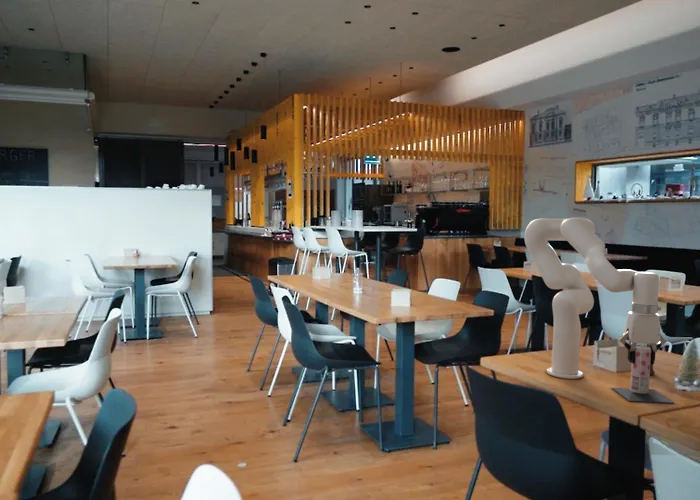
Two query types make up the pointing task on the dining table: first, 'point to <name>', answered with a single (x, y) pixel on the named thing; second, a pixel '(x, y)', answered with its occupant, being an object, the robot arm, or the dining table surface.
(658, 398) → the mat
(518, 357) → the dining table surface
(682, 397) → the dining table surface
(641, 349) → the beverage can
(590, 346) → the dining table surface
